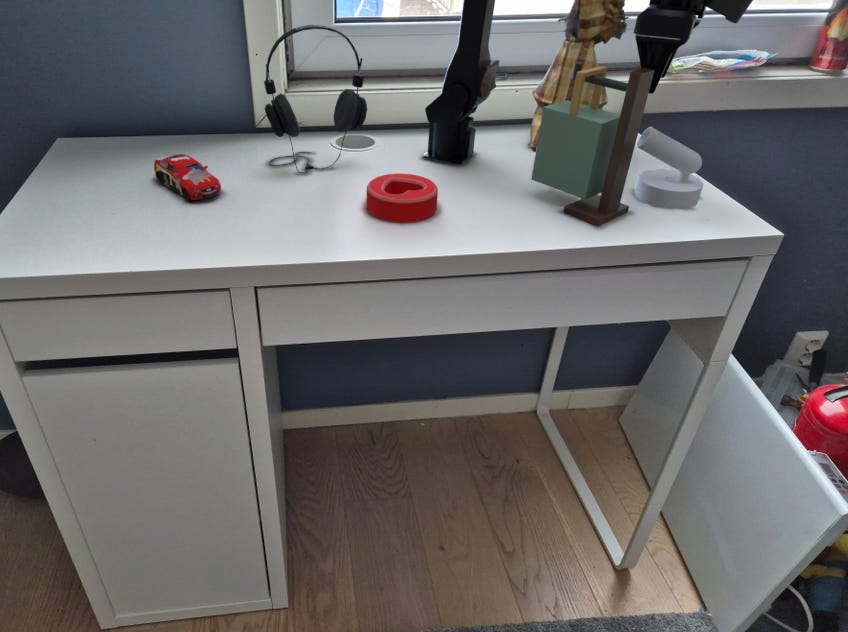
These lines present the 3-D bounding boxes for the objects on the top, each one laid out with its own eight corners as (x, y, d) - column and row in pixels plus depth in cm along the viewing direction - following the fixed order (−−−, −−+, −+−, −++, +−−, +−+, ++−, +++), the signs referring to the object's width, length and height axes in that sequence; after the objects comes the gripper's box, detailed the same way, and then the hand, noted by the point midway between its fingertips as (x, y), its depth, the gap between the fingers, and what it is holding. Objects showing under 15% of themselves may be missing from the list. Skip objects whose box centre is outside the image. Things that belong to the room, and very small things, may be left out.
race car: (227, 197, 92) (224, 170, 90) (192, 207, 89) (188, 179, 87) (185, 169, 100) (180, 144, 98) (151, 178, 97) (146, 151, 95)
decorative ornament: (395, 188, 95) (396, 167, 93) (449, 206, 90) (451, 184, 88) (352, 208, 89) (351, 186, 87) (408, 229, 84) (409, 206, 83)
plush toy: (509, 119, 119) (546, -32, 100) (581, 120, 120) (631, -28, 101) (528, 163, 110) (574, 6, 91) (606, 164, 111) (666, 9, 92)
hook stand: (534, 201, 92) (559, 60, 81) (565, 189, 96) (592, 52, 85) (598, 226, 86) (634, 77, 75) (627, 212, 89) (666, 68, 78)
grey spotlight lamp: (638, 117, 93) (712, 122, 91) (621, 182, 98) (691, 188, 97) (646, 136, 86) (727, 142, 84) (628, 205, 92) (703, 211, 90)
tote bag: (531, 179, 92) (550, 65, 83) (553, 171, 95) (574, 59, 86) (584, 199, 87) (611, 80, 78) (607, 190, 89) (635, 73, 80)
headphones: (349, 148, 109) (349, 14, 97) (371, 172, 100) (373, 28, 88) (260, 157, 105) (248, 18, 93) (274, 182, 96) (263, 34, 84)
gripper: (762, -42, 68) (713, 111, 77) (768, -56, 81) (725, 77, 91) (651, -48, 72) (617, 98, 82) (674, -60, 85) (642, 67, 95)
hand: (654, 85), depth 87 cm, fingers open, 9 cm apart
